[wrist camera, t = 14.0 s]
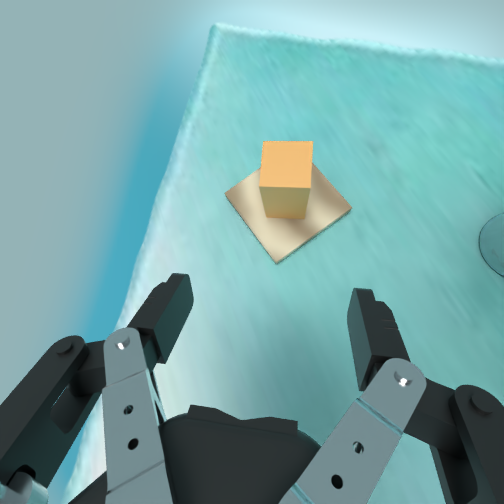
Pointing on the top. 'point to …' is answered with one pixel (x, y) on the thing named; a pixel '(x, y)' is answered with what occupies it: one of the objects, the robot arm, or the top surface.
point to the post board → (282, 229)
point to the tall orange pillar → (286, 178)
